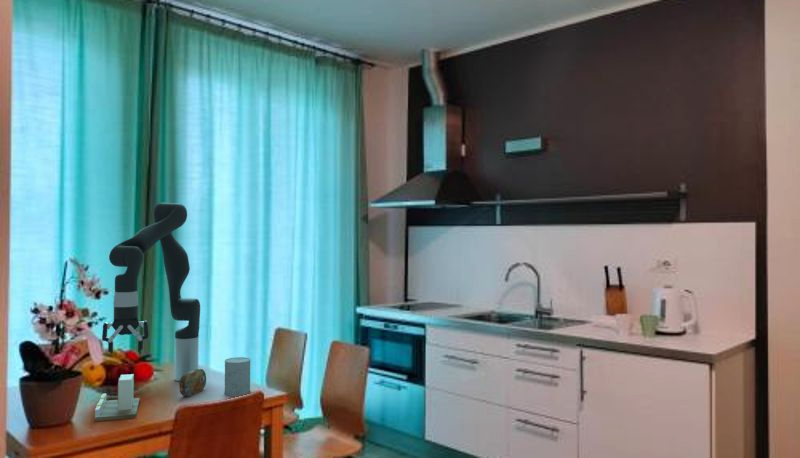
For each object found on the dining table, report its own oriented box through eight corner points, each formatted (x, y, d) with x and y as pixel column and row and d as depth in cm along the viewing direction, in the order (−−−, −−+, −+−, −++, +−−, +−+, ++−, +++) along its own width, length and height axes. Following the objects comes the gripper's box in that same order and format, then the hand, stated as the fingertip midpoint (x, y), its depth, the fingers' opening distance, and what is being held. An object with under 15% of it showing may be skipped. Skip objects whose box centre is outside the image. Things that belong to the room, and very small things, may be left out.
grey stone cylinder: (255, 392, 225) (255, 360, 225) (232, 397, 218) (232, 363, 218) (242, 387, 232) (242, 356, 232) (219, 392, 225) (219, 359, 225)
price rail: (102, 400, 208) (102, 393, 208) (106, 400, 209) (106, 392, 209) (94, 417, 189) (94, 409, 189) (99, 417, 190) (99, 408, 190)
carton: (133, 402, 206) (133, 374, 206) (131, 409, 199) (131, 379, 199) (119, 403, 205) (120, 374, 205) (117, 410, 197) (117, 380, 197)
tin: (185, 399, 216) (185, 376, 216) (177, 398, 216) (177, 375, 216) (206, 388, 230) (207, 366, 230) (199, 388, 231) (199, 366, 231)
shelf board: (102, 404, 208) (102, 400, 208) (139, 401, 212) (139, 397, 212) (94, 421, 189) (94, 417, 189) (135, 417, 194) (135, 413, 194)
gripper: (149, 302, 208) (148, 348, 208) (104, 304, 203) (103, 351, 203) (148, 305, 201) (147, 353, 201) (101, 306, 196) (100, 355, 196)
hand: (125, 352), depth 202 cm, fingers open, 8 cm apart
